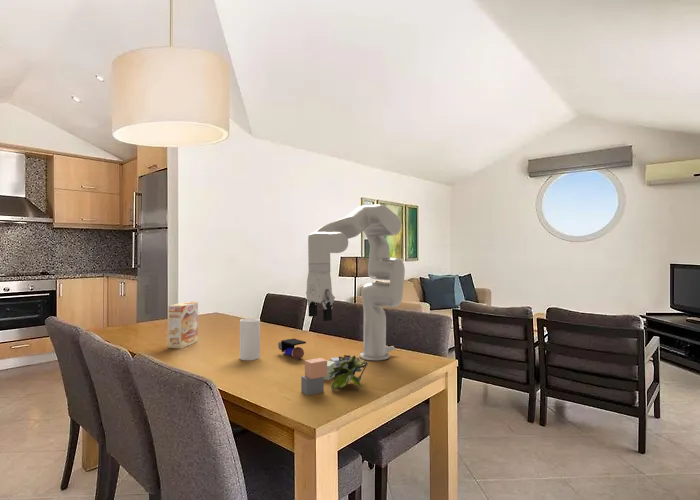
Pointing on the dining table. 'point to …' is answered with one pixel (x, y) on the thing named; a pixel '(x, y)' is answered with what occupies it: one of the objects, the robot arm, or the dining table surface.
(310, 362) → the terracotta brick
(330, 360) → the slate-blue brick
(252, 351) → the cup
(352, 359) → the passion flower
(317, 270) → the robot arm
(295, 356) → the figurine character
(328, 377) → the sage brick
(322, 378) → the charcoal brick
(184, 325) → the coffeecake box
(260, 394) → the dining table surface
